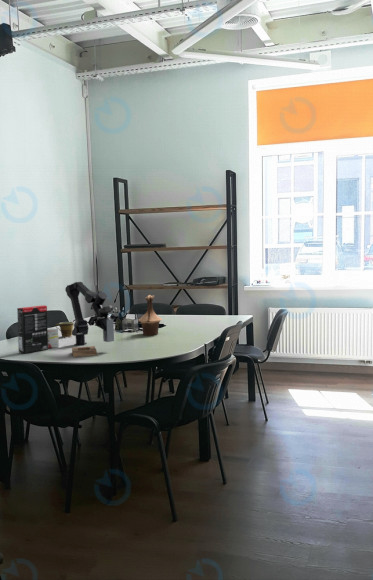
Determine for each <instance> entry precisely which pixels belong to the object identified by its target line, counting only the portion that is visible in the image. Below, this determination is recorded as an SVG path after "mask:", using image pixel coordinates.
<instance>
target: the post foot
mask: <svg viewBox="0 0 373 580" xmlns="http://www.w3.org/2000/svg"><path fill="white" fill-rule="evenodd" d="M71 353H72V357H73V358H77V357H78V356H80V357H89V356H90V357H92V355H93V356H97V355H98V354H97V349H96V347H95V345H91V346H90V345H89V346H77V347H72V348H71Z"/></svg>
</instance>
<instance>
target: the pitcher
mask: <svg viewBox="0 0 373 580" xmlns="http://www.w3.org/2000/svg"><path fill="white" fill-rule="evenodd" d="M154 297H155V295H151V294H149V295H147V296H146V297H145V300H146V302H147V311H146V312H145V313H144V314H143V315H142V316H141V317H140V318H138V320H137V321H139V322H140V323H141V329H142V335H143V336H155V335H158V334H159V327H160V322H161V321H162V320H163V319H162V318H161V317H160V316H158V315H157V314H156V312H155V310H154V307H153V300H154Z"/></svg>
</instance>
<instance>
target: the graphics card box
mask: <svg viewBox="0 0 373 580" xmlns="http://www.w3.org/2000/svg"><path fill="white" fill-rule="evenodd" d="M16 313H17V334H18V335H17V339H18V340H17V341H18V353H21V354H29V353H34V352H41V351H47V350H49V348H48V331H47V328H48V306H47V305H44V304H43V305H35V306H25V307H24V306H23V307H18V308H17V312H16Z"/></svg>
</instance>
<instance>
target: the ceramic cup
mask: <svg viewBox="0 0 373 580" xmlns="http://www.w3.org/2000/svg"><path fill="white" fill-rule="evenodd" d="M74 323H75V321H62V322H59V323H55V328H58V327H57V325H58V326H59V328H58V331H59V332H60V333H61V337H62V338H63V337H68V338H72V337H73V335H72V331H73V329H74Z"/></svg>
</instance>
